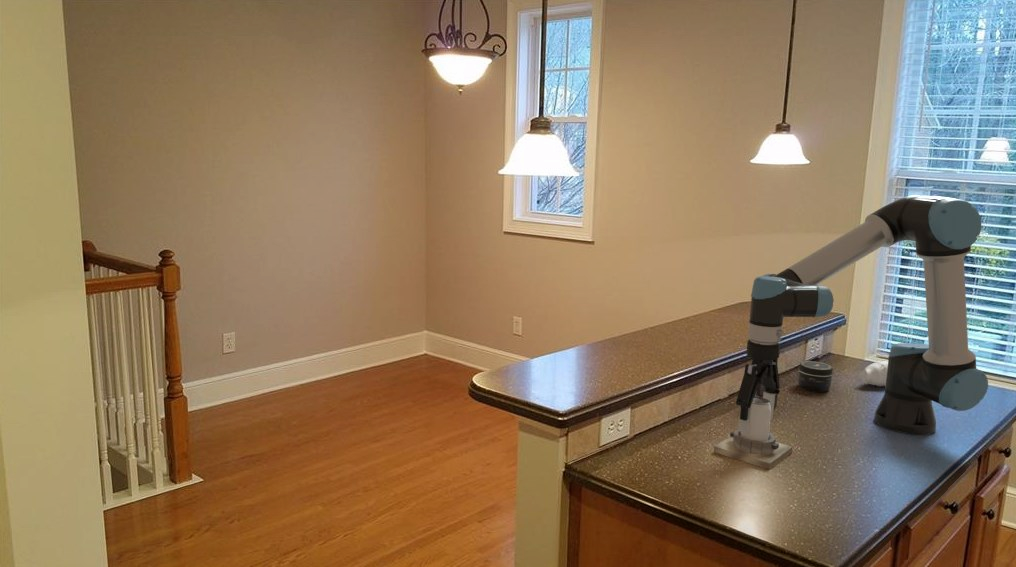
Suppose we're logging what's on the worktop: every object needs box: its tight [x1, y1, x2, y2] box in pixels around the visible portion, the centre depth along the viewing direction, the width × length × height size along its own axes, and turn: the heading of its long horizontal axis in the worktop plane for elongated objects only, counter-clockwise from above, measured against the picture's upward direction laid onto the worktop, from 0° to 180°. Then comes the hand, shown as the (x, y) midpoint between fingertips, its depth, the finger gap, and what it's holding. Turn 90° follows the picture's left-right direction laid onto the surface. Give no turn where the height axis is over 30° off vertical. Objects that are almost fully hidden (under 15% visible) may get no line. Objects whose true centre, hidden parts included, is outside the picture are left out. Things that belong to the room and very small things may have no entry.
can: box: [741, 396, 771, 441], centre depth 181 cm, size 6×6×12 cm
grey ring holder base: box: [713, 428, 793, 470], centre depth 182 cm, size 14×14×4 cm
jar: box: [797, 360, 834, 393], centre depth 235 cm, size 10×10×8 cm
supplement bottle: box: [755, 382, 779, 408], centre depth 216 cm, size 6×6×11 cm
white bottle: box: [858, 360, 888, 387], centre depth 241 cm, size 8×19×8 cm, turn 110°
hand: (755, 424), depth 181 cm, fingers open, 13 cm apart
